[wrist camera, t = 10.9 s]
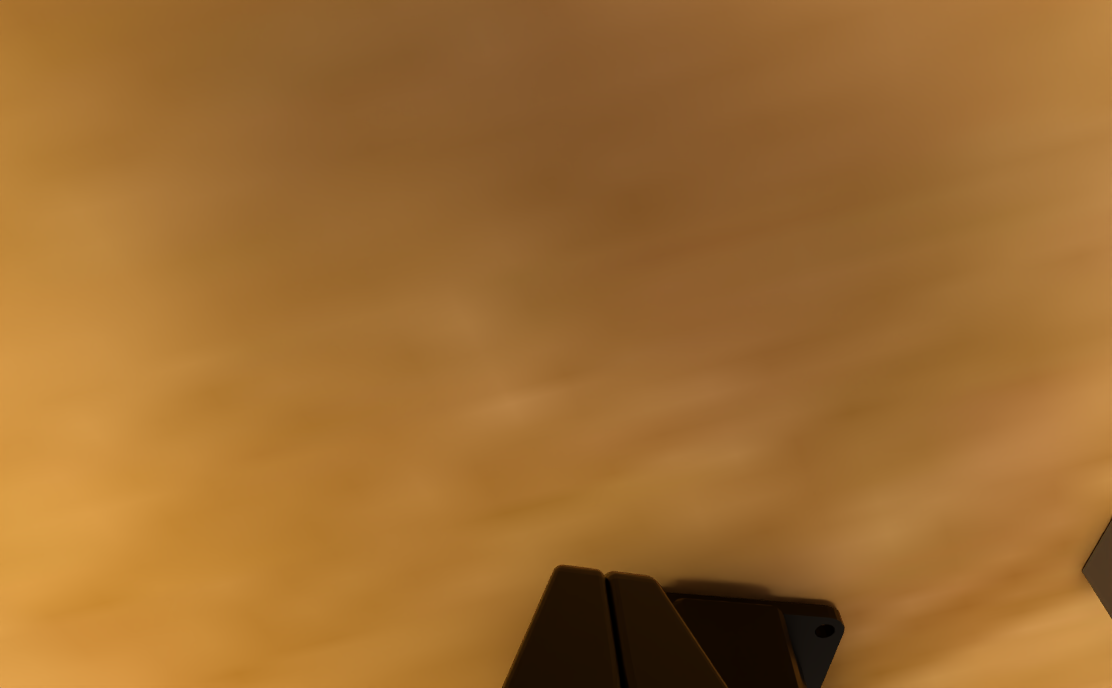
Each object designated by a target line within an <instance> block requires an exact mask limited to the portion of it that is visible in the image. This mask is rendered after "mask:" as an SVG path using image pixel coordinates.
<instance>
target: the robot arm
mask: <svg viewBox="0 0 1112 688" xmlns="http://www.w3.org/2000/svg"><path fill="white" fill-rule="evenodd" d="M843 633H844V625H843V622H842V619H841V616H840V613H839V611H838V610H836V609H835V608H834V607H830V606H825V605H812V604H800V603H788V602H776V601H763V600H751V599H739V598H727V597H714V596H702V595H690V594H678V593H665V592H664V591H663V589H662V588H661V586H660V585H659V583H658V582H657V581H656V580H655V579H653V578H652V577H650V576H647V575H639V574H631V573H623V572H616V571H612V572H609V573H607V574H606V575H605V576H604V575H603V573H602V572H601V571H600V570H598V569H592V568H584V567H576V566H568V565H559V566H557V567H556V568H555V569H554V571H553V573H552V575H551V577H550V579H549V582H548V584H547V586H546V588H545V591H544V593H543V595H542V598H541V600H540V602H539V604H538V607H537V609H536V611H535V614H534V616H533V618H532V620H531V623H530V625H529V627H528V629H527V632H526V634H525V636H524V639H523V641H522V643H521V645H520V648H519V650H518V652H517V655H516V657H515V659H514V661H513V664H512V666H511V668H510V670H509V673H508V675H507V677H506V680H505V682H504V684H503V686H502V688H821V685H822V683H823V681H824V678H825V676H826V674H827V671H828V669H829V666H830V664H831V662H832V659H833V657H834V655H835V652H836V650H837V647H838V645H839V643H840V640H841V638H842V636H843Z"/></svg>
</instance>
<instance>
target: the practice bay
mask: <svg viewBox="0 0 1112 688" xmlns="http://www.w3.org/2000/svg"><path fill="white" fill-rule="evenodd" d="M1082 572H1083V574H1084V575H1085V577H1086V579H1087V580H1088V582H1089V583H1090V585H1091V587H1092V588H1093V590H1094V591H1095V593H1096V595H1097V596H1098V598H1099V599H1100V601H1101V602H1102V604H1103V606H1104V607H1105V609H1106V610H1107V612H1108V614H1109V615H1110V617H1111V618H1112V521H1111V523H1110V524H1109V526H1108V528H1107V529H1106V531H1105V533H1104V535H1103V536H1102V538H1101V540H1100V541H1099V543H1098V545H1097V547H1096V548H1095V550H1094V552H1093V553H1092V555H1091V557H1090V559H1089V560H1088V562H1087V564H1086V565H1085V567H1084V569H1083V570H1082Z"/></svg>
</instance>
